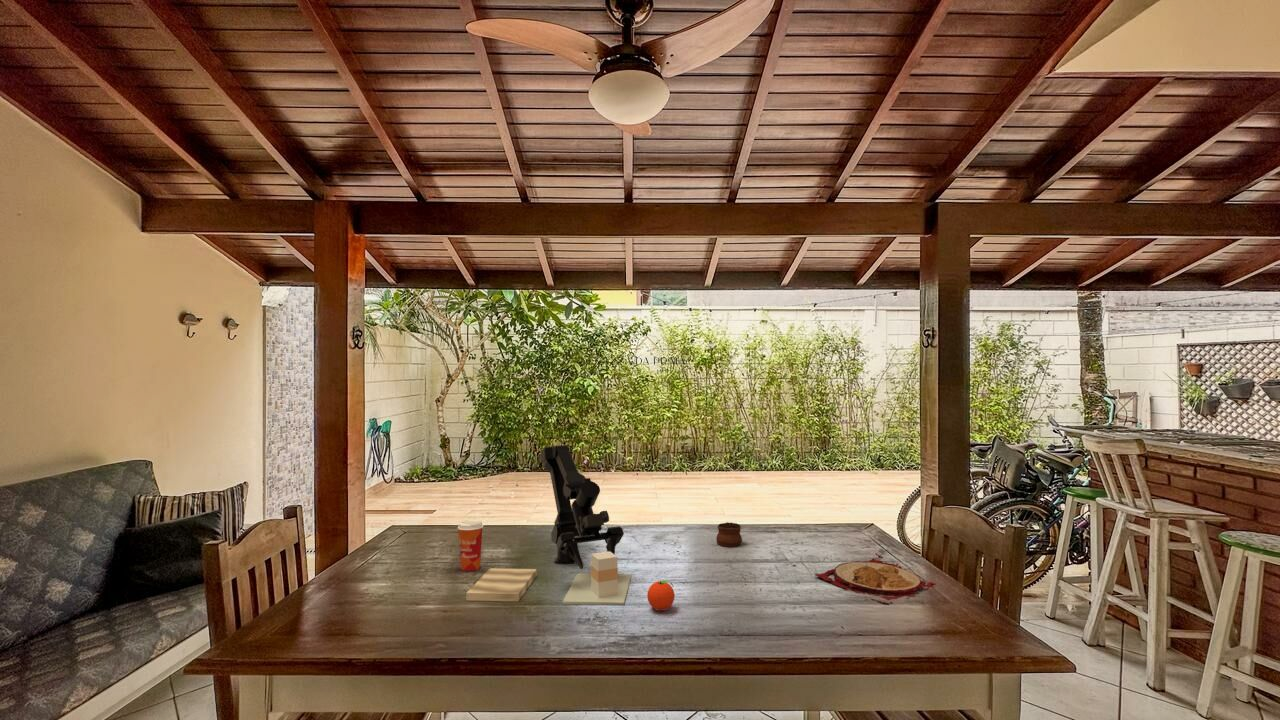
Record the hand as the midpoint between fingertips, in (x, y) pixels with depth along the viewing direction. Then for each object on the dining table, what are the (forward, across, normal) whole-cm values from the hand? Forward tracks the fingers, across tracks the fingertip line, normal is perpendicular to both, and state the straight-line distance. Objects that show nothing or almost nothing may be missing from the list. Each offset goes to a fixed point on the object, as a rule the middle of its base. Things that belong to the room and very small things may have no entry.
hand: (597, 565), depth 169 cm
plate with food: (+26, +74, -16) cm, 80 cm away
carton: (+8, 0, +1) cm, 8 cm away
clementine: (+19, +10, -10) cm, 23 cm away
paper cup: (-19, -29, +29) cm, 45 cm away
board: (-4, -23, +14) cm, 27 cm away
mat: (+5, 0, +4) cm, 6 cm away
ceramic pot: (-9, +56, +20) cm, 61 cm away
